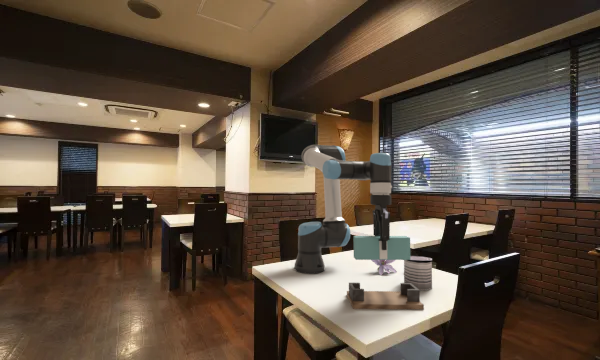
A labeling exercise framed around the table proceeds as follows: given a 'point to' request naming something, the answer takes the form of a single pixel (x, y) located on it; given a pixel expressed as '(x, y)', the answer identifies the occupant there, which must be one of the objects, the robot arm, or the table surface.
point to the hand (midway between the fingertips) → (381, 257)
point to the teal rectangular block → (370, 248)
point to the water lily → (384, 266)
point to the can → (418, 272)
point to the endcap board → (385, 298)
